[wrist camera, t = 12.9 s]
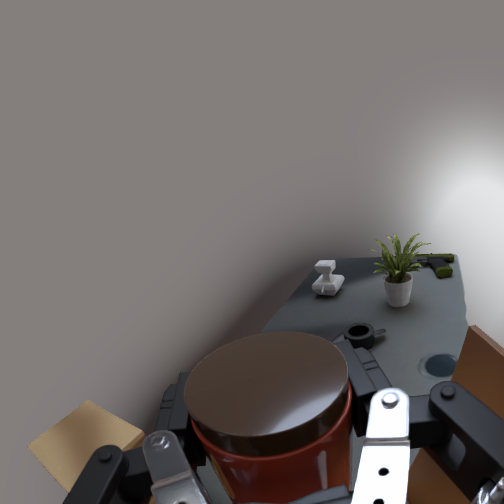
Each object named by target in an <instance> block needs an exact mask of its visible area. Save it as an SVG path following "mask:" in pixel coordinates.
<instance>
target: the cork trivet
mask: <svg viewBox="0 0 504 504" xmlns="http://www.w3.org/2000/svg"><path fill="white" fill-rule="evenodd" d="M144 435H145V434H144V432H143V431H142V430H140V429H138V428H136V427H134V426H133V425H131V424H129V423H127V422H125V421H123V420H122V419H120V418H118V417H116V416H115V415H113V414H111V413H109V412H107V411H106V410H104V409H103V408H101V407H99V406H98V405H96V404H94V403H92V402H91V401H89V400H87V401H86V402H85V403H83V404H82V405H81V406H79V407H78V408H77V409H76V410H74V411H73V412H72V413H70V414H69V415H68V416H66V417H65V418H64V419H62V420H61V421H60V422H58V423H57V424H56V425H55V426H53V427H52V428H50V429H49V430H48V431H47V432H45V433H44V434H42V435H41V436H40V437H38V438H37V439H36V440H34V441H33V442H32V443H30V444H29V445H28V446H27V447H28V448H29V449H30V451H32V453H33V454H34V455H35V457H36V458H37V459H38V460H39V461H40V463H41V464H42V465H43V466H44V467H45V468H46V470H47V471H48V472H49V473H50V474H51V475H52V476H53V477H54V478H55V480H56V481H57V482H58V483H59V484H60V485H61V486H62V487H63V488H64V489H65V490H66V491H67V492H68V493H69V492H70V490H71V488H72V487H73V485H74V483H75V482H76V480H77V478H78V477H79V475H80V473H81V472H82V470H83V469H84V467H85V465H86V464H87V462H88V460H89V459H90V457H91V455H92V454H93V452H94V451H95V450H96V449H98V448H99V447H101V446H104V445H110V444H111V445H116V446H118V447H119V448H120V449H121V450H122V451H127V450H129V449H130V448H131V447H132V446H133V445H134V444H135V443H136V442H137V441H138V440H139V439H141V438H142V437H143V436H144Z"/></svg>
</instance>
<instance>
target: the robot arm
mask: <svg viewBox="0 0 504 504" xmlns="http://www.w3.org/2000/svg"><path fill="white" fill-rule="evenodd" d="M332 344H334V345H335V346H336V347H337V348H338V349H339V350H340V351H341V353H342V354H343V355H344V357H345V359H346V362H347V366H348V378H349V382H350V384H351V389H352V411H353V427H354V430H355V432H356V435H357V437H361V436H364V435H365V437H366V439H365V440H364V444H363V449H362V455H361V460H360V465H359V470H358V475H357V480H356V484H355V489H354V491H348V490H347V487H346V484H344V485H341V486H337V487H333V488H329V489H324V490H320V491H316V492H313V493H311V494H309V495H306V496H304V497H302V498H299V499H297V500H294V501H292V502H289V503H286V504H405V502H406V493H407V482H408V470H409V455H410V449H413V448H423V449H424V450H425V451H426V452H427V453H428V455H429V456H430V457H431V458H432V459H433V460H434V461H435V462H436V464H437V465H438V466H439V467H440V468H441V469H442V470H443V472H444V473H445V474H446V475H447V476H448V477H449V478H450V479H451V481H452V482H453V483H454V484H455V485H456V486H457V487H458V488H459V490H460V491H461V492H462V493H463V494H464V495H465V496H466V498H467V499H468V500H469V501H470V502H471V504H504V420H503V419H502V418H501V417H500V416H499V415H497V414H496V413H495V412H494V411H492V410H491V409H490V408H489V407H488V406H486V405H485V404H484V403H483V402H481V401H480V400H479V399H478V398H477V397H475V396H474V395H473V394H472V393H470V392H469V391H468V390H467V389H465V388H464V387H463V386H462V385H460V384H459V383H457V382H453V381H443V382H440V383H438V384H436V385H434V386H433V387H432V389H431V391H430V394H429V395H421V396H408V395H407V393H406V392H404V391H403V390H401V389H398V388H393V387H392V385H391V383H390V382H389V380H388V379H387V377H386V375H385V374H384V372H383V371H382V369H381V368H380V367H379V364H378V363H377V361H376V360H375V358H374V357H373V355H372V354H371V352H369V351H368V350H366V349H364V348H363V347H361V348H357V349H354V348H353V347H352V345H351V343H350V341H349V340H348V339H346V340H342V341H338V342H334V343H332ZM191 372H192V371H185V372H180V374H179V379H178V383H177V384H171V385H170V386H169V387H168V389H167V390H166V391H165V392H164V396H163V399H162V403H161V406H160V410H159V414H158V418H157V421H156V426H155V429H154V432H153V433H151V434H150V435H148V436H147V437H146V438H145V439H144V441H143V444H142V446H140V447H138V448H135V449H131V450H127V451H122V450H121V449H120V448H119V447H118V446H116V445H111V444H110V445H104V446H101V447H99V448H98V449H96V450H95V451H94V452H93V454H92V455H91V457H90V459H89V460H88V462H87V464H86V465H85V467H84V469H83V470H82V472H81V473H80V475H79V477H78V478H77V480H76V482H75V483H74V485H73V487H72V488H71V490H70V492H69V493H68V495H67V497H66V499H65V500H64V502H63V504H149V502H150V500H151V497H152V496H153V497H154V500H155V503H156V504H214V503H213V501H212V500H211V498H210V496H209V494H208V492H207V490H206V488H205V486H204V485H203V483H202V481H201V479H200V477H199V475H198V473H197V472H196V471H197V466H206V454H205V452H204V450H203V448H202V446H201V444H200V442H199V440H198V438H197V436H196V434H195V432H194V429H193V427H192V424H191V418H190V414H189V412H188V409H187V407H186V404H185V400H184V388H185V384H186V381H187V379H188V377H189V375H190V373H191ZM240 504H272V503H257V502H250V503H240Z"/></svg>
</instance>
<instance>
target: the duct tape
mask: <svg viewBox="0 0 504 504" xmlns="http://www.w3.org/2000/svg"><path fill="white" fill-rule="evenodd" d="M385 332H386V330H385V329H380V330H377V331H374V329H373V327H372V326H371V325H369V324H366V323H355V324H352V325H349V326H348V327H346V328H345V330H344V331H343V332H342V333H341V334H339V335H338V336H337V337H336V338H335V339H333V340H332V341H331V343H334V342H338V341H342V340H346V339H348V340H349V341H350V343H351V345H352V347H353V348H354V349H357V348H361V347H363V348H364V349H366V350H368V349H370V348H371V347H372V346H373V344H374V335H379V334H382V333H385Z"/></svg>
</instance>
